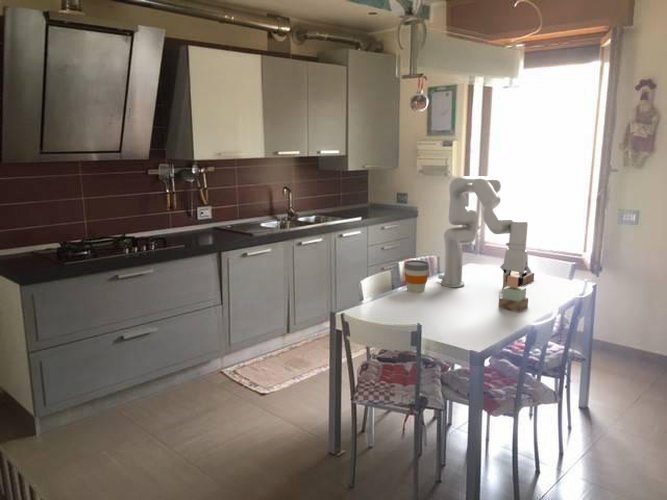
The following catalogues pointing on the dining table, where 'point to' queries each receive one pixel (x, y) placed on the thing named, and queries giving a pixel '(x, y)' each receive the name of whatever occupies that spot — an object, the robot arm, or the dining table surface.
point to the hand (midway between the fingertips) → (514, 284)
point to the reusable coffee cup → (416, 275)
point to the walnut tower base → (513, 304)
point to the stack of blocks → (505, 278)
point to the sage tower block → (514, 293)
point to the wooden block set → (528, 278)
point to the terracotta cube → (513, 280)
